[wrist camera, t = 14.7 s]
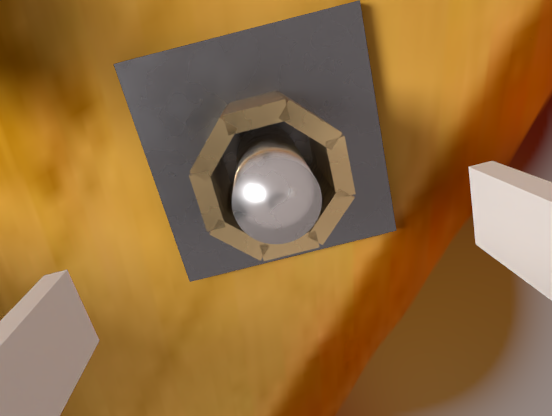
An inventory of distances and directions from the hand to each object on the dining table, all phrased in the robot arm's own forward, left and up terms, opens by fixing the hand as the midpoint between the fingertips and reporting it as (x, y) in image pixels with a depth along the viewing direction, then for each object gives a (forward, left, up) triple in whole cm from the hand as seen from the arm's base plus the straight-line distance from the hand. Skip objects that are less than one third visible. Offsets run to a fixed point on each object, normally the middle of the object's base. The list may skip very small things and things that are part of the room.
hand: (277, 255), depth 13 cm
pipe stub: (0, 0, -17) cm, 17 cm away
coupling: (0, 0, -16) cm, 16 cm away
